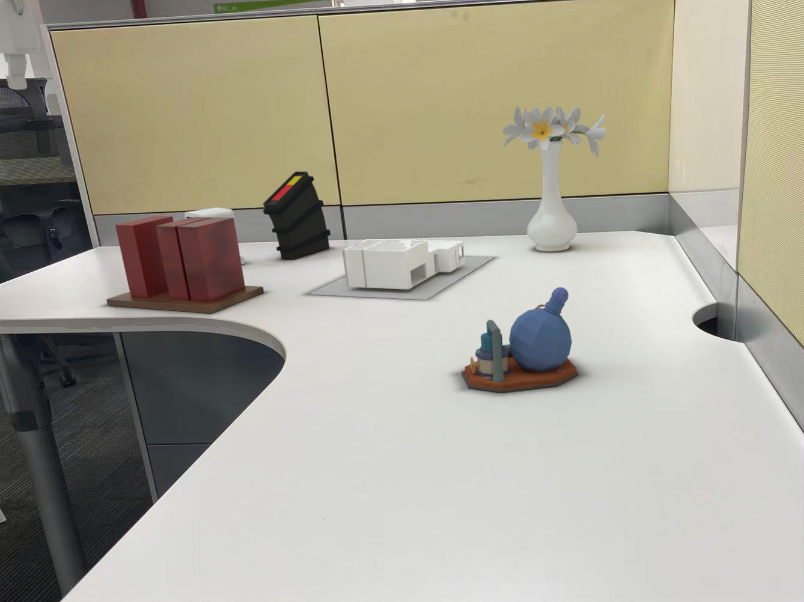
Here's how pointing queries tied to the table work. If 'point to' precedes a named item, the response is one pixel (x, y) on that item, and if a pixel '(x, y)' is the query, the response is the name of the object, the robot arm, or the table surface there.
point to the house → (401, 268)
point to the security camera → (213, 213)
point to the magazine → (297, 217)
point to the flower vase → (552, 169)
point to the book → (143, 256)
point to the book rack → (197, 268)
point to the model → (525, 351)
